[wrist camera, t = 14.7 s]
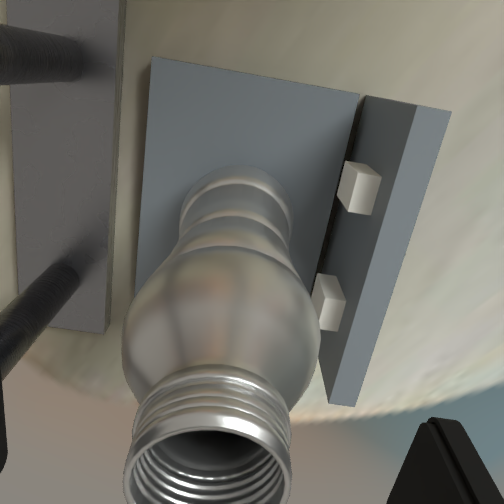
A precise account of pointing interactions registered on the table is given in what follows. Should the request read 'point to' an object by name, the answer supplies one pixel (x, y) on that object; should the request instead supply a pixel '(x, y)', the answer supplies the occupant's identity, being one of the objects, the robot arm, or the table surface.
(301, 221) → the switch board
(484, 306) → the table surface
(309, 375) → the silver bottle
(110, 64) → the cord gate
